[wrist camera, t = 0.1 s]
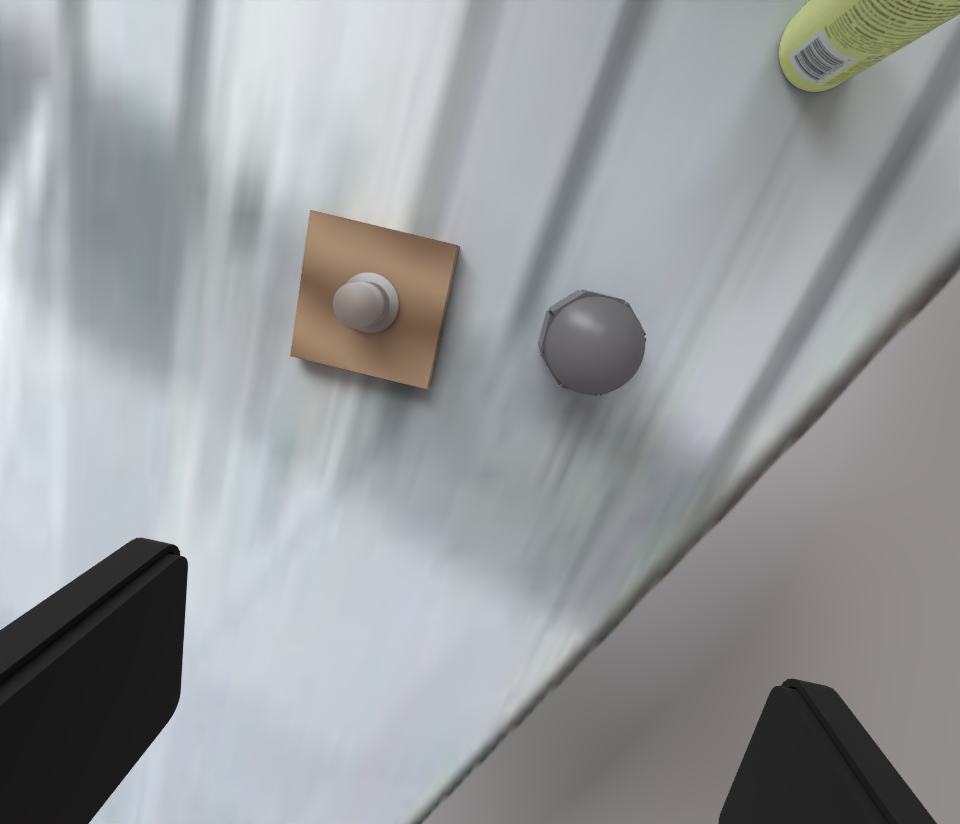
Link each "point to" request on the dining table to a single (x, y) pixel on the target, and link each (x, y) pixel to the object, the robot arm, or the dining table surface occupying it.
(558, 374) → the cap
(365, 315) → the stud block
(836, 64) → the tube
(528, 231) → the dining table surface
